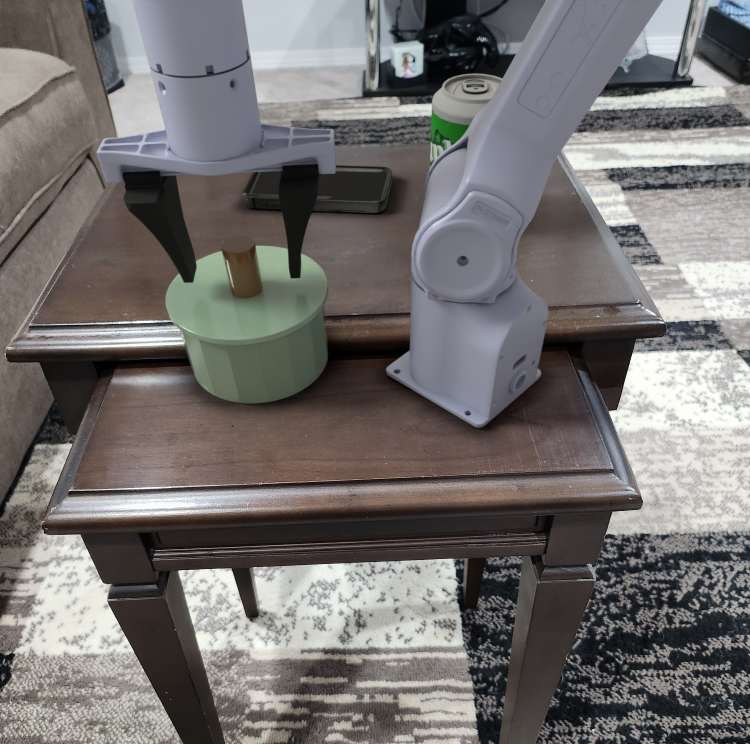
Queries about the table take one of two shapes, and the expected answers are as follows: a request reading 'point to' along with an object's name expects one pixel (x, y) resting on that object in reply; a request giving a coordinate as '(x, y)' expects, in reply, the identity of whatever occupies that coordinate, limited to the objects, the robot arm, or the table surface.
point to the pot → (261, 364)
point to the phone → (329, 190)
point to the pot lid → (246, 295)
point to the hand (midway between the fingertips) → (243, 272)
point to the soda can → (458, 108)
